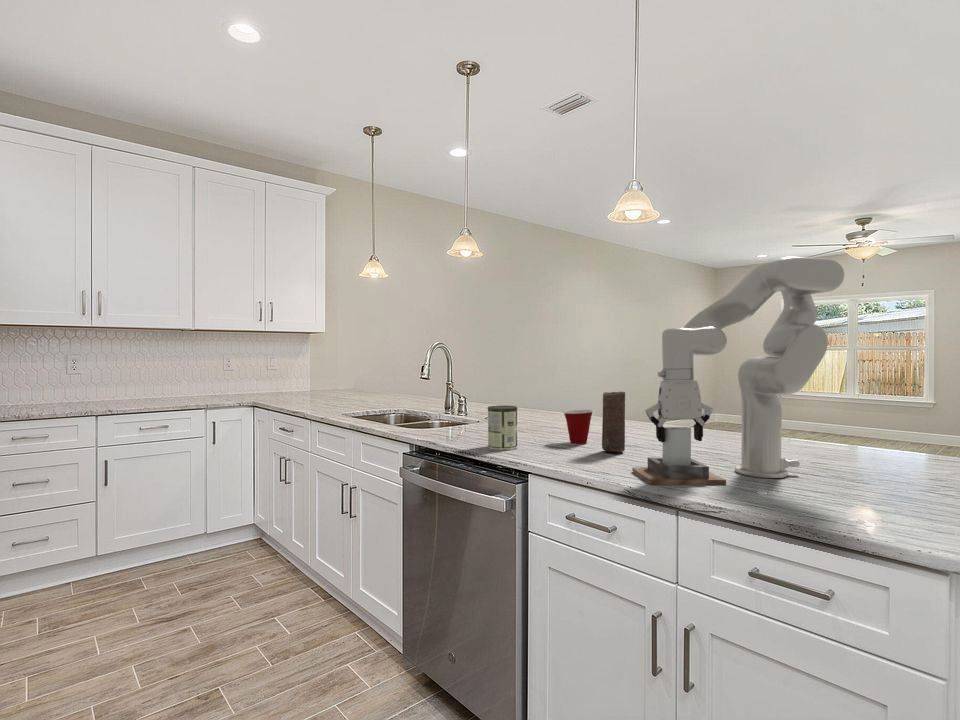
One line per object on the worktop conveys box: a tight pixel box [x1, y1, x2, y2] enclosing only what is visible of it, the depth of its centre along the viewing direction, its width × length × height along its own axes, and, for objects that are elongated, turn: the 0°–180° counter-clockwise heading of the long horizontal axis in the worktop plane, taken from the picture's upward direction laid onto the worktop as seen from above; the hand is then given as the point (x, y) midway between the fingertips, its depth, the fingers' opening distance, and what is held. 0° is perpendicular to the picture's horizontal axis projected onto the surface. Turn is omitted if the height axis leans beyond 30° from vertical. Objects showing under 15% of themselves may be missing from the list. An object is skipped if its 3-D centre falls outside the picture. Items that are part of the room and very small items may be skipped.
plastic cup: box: [562, 409, 594, 445], centre depth 187 cm, size 11×11×12 cm
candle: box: [601, 391, 626, 453], centre depth 169 cm, size 8×7×20 cm
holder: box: [632, 457, 727, 486], centre depth 135 cm, size 19×14×4 cm
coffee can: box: [487, 405, 518, 451], centre depth 178 cm, size 10×10×14 cm
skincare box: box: [661, 425, 692, 466], centre depth 135 cm, size 6×4×12 cm
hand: (679, 440), depth 135 cm, fingers open, 9 cm apart
